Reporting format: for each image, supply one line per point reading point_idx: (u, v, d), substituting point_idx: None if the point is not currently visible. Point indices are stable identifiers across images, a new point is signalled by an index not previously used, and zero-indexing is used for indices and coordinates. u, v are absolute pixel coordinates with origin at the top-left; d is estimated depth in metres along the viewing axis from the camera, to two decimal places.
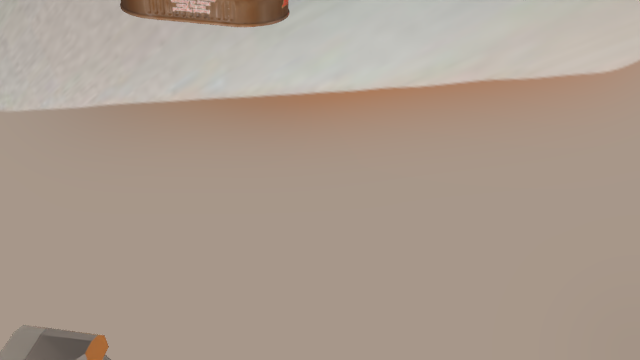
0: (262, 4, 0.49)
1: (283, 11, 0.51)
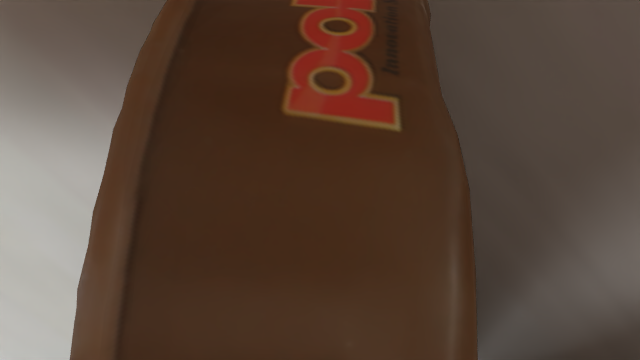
0: None
1: None
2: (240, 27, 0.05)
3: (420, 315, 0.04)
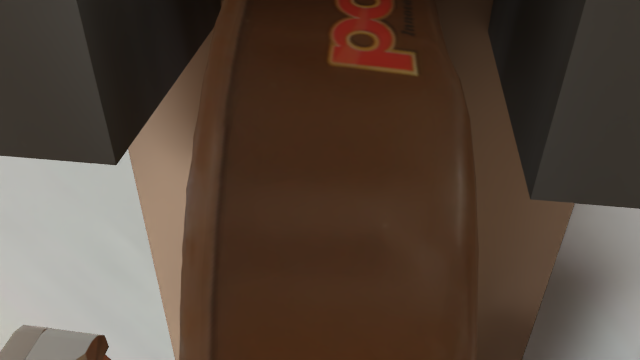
0: None
1: None
2: (289, 3, 0.06)
3: (436, 205, 0.05)
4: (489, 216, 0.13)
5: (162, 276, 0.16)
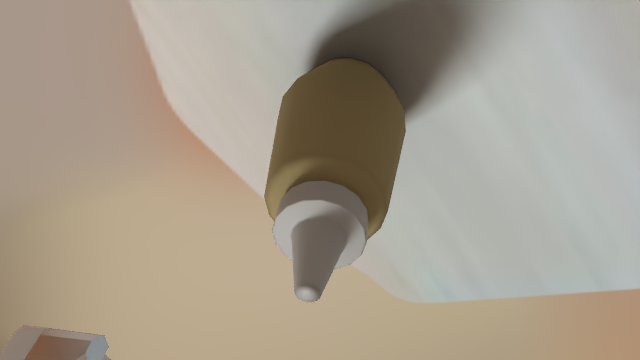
0: None
1: None
2: None
3: None
4: None
5: None
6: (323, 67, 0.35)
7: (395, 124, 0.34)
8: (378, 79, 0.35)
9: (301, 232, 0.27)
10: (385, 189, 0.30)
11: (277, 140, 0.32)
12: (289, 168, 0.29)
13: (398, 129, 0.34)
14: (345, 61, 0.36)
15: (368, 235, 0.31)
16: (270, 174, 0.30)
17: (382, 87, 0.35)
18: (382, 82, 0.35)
